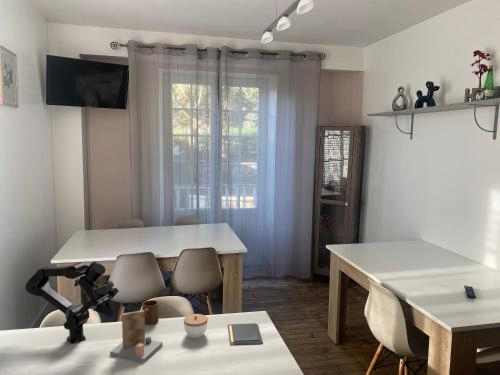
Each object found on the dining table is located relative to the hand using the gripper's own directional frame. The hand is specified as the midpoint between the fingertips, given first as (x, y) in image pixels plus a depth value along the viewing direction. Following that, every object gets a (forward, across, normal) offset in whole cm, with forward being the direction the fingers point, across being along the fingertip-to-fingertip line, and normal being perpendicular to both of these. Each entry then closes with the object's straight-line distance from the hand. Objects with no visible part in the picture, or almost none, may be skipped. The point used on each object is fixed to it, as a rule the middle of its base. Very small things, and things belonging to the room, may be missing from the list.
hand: (112, 316), depth 164 cm
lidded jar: (+30, +21, -10) cm, 38 cm away
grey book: (+45, +30, -25) cm, 59 cm away
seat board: (+18, +1, +2) cm, 18 cm away
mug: (+11, +24, +8) cm, 28 cm away
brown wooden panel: (+15, +2, +2) cm, 15 cm away
